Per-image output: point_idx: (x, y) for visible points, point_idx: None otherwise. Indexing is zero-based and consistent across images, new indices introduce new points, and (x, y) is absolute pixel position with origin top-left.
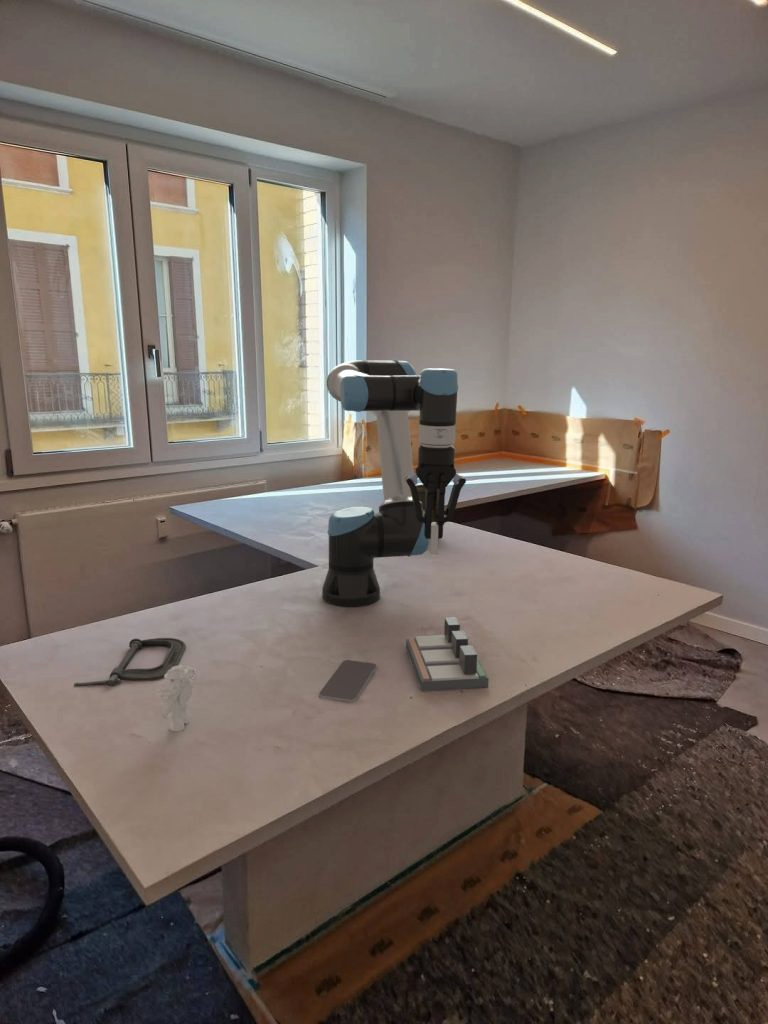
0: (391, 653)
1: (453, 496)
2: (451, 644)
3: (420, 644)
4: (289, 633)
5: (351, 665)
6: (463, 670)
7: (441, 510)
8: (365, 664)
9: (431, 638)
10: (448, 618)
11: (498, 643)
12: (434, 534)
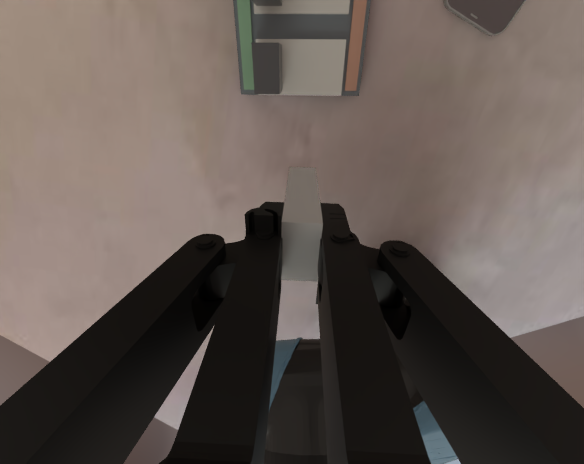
0: (390, 68)
1: (72, 407)
2: (281, 2)
3: (341, 49)
4: (535, 179)
5: (497, 2)
6: None
7: (251, 287)
8: (467, 2)
9: (311, 79)
10: (272, 87)
11: (178, 89)
12: (303, 200)
